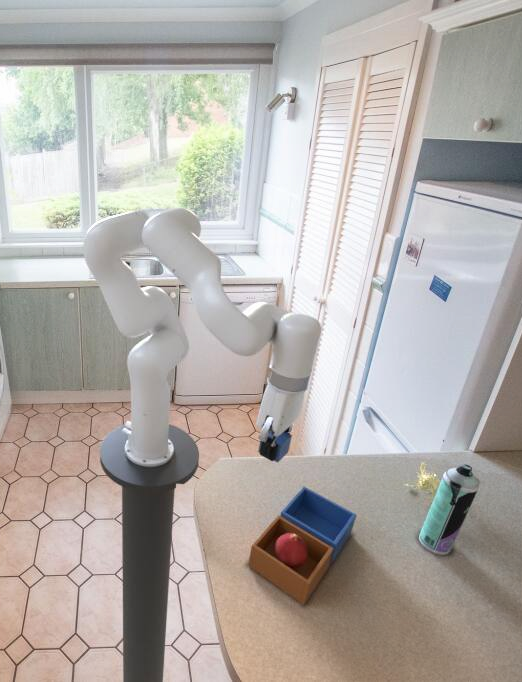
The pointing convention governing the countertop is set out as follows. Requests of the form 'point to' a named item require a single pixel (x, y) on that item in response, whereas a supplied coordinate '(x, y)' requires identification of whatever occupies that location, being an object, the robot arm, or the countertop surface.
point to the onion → (291, 550)
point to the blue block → (280, 445)
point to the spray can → (449, 509)
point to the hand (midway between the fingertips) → (273, 450)
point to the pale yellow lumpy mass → (427, 481)
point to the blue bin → (320, 518)
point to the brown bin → (287, 578)
